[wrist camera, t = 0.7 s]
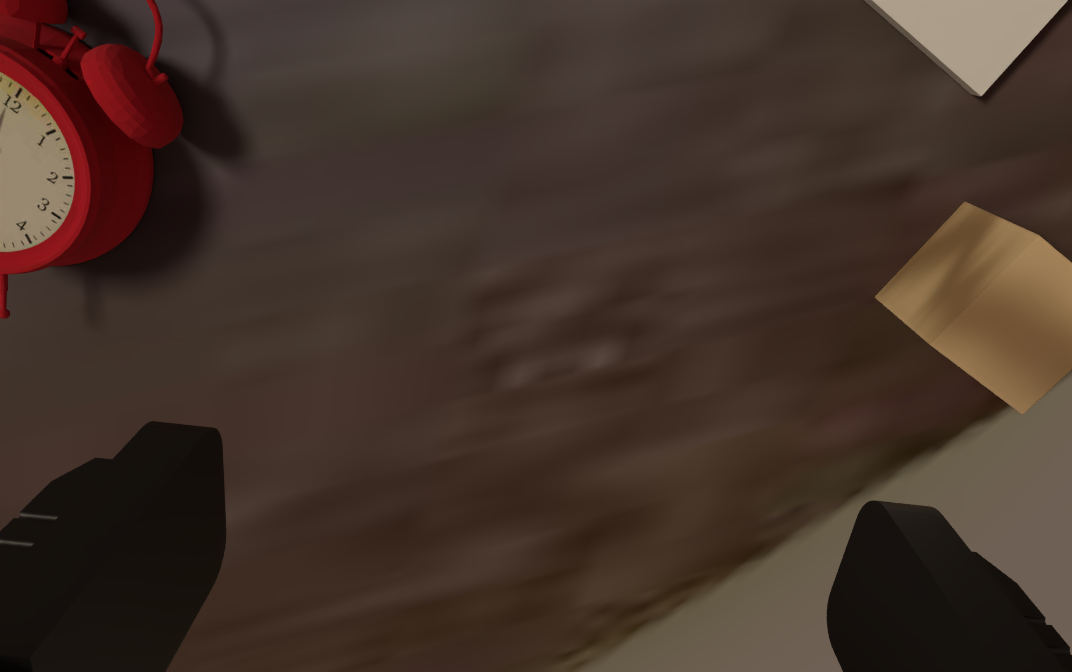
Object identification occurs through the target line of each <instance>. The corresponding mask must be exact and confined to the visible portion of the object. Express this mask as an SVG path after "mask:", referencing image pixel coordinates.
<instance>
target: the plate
mask: <svg viewBox="0 0 1072 672" xmlns="http://www.w3.org/2000/svg"><path fill="white" fill-rule="evenodd" d="M864 1H865V2H866V3H868V4H869V5H870V6H871V7H872V8H873V9H874V10H875V11H877V12H878V13H879V14H880V15H881V16H882V17H883V18H885V19H886V20H887V21H888V22H889V23H890V24H891V25H893V26H894V27H895V28H896V29H897V30H898V31H899V32H901V33H902V34H903V35H904V36H905V37H906V38H907V39H908V40H910V41H911V42H912V43H913V44H914V45H915V46H916V47H918V48H919V49H920V50H921V51H922V52H923V53H924V54H926V55H927V56H928V57H929V58H930V59H931V60H932V61H934V62H935V63H936V64H937V65H938V66H939V67H940V68H942V69H943V70H944V71H945V72H946V73H947V74H948V75H949V76H951V77H952V78H953V79H954V80H955V81H956V82H957V83H959V84H960V85H961V86H962V87H963V88H964V89H965V90H967V91H968V92H969V93H970V94H972V95H976V96H982V95H983V94H984V93H985V92H986V91H987V89H988V88H989V87H990V86H991V85H992V84H993V83H994V82H995V81H996V79H997V78H998V77H999V76H1000V75H1001V74H1002V73H1003V72H1004V71H1005V69H1006V68H1007V67H1008V66H1009V65H1010V64H1011V63H1012V62H1013V61H1014V60H1015V58H1016V57H1017V56H1018V55H1019V54H1020V53H1021V52H1022V51H1023V50H1024V48H1025V47H1026V46H1027V45H1028V44H1029V43H1030V42H1031V41H1032V40H1033V38H1034V37H1035V36H1036V35H1037V34H1038V33H1039V32H1040V31H1041V30H1042V28H1043V27H1044V26H1045V25H1046V24H1047V23H1048V22H1049V21H1050V20H1051V18H1052V17H1053V16H1054V15H1055V14H1056V13H1057V12H1058V11H1059V10H1060V8H1061V7H1062V6H1063V5H1064V4H1065V3H1066V2H1067V1H1068V0H864Z"/></svg>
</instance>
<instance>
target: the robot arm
mask: <svg viewBox="0 0 1072 672" xmlns="http://www.w3.org/2000/svg"><path fill="white" fill-rule="evenodd" d="M225 544H226V513H225V490H224V467H223V446H222V439H221V435H220V433H219V431H218V430H217V429H216V428H211V427H202V426H192V425H183V424H174V423H165V422H155V421H152V422H149V423H147V424H145V425H144V426H143V427H142V428H141V429H140V430H139V431H138V433H137V434H136V435H135V436H134V437H133V438H132V439H131V440H130V441H129V442H128V443H127V444H126V445H125V446H124V447H123V449H122V450H121V451H120V452H119V453H118V454H117V455H116V456H115V457H114V458H113V459H103V458H94V459H92V460H90V461H89V462H87V463H85V464H83V465H81V466H79V467H77V468H75V469H74V470H72V471H70V472H68V473H66V474H64V475H62V476H60V477H59V478H57V479H55V480H53V481H51V482H50V483H49V484H48V485H47V486H46V487H45V488H44V489H43V490H42V491H41V492H40V493H39V494H38V495H37V496H36V497H35V498H34V499H33V500H32V501H31V502H30V503H29V504H28V505H27V506H26V507H25V508H24V509H23V510H22V511H21V512H20V516H19V518H13V519H12V520H11V521H10V522H9V523H8V524H7V525H6V526H5V527H4V528H3V529H2V530H1V531H0V672H166V670H167V668H168V666H169V664H170V663H171V661H172V659H173V657H174V655H175V654H176V652H177V650H178V648H179V647H180V645H181V643H182V641H183V639H184V638H185V636H186V634H187V632H188V630H189V629H190V627H191V625H192V623H193V621H194V620H195V618H196V616H197V614H198V612H199V611H200V609H201V607H202V605H203V603H204V602H205V600H206V598H207V596H208V595H209V593H210V591H211V589H212V587H213V585H214V583H215V581H216V579H217V576H218V574H219V571H220V568H221V564H222V560H223V556H224V551H225ZM827 627H828V634H829V639H830V642H831V645H832V648H833V650H834V653H835V655H836V657H837V659H838V661H839V664H840V666H841V668H842V670H843V672H1072V655H1071V654H1070V647H1069V646H1068V645H1067V643H1066V642H1065V641H1064V640H1063V639H1062V637H1061V636H1060V635H1059V634H1058V633H1057V631H1056V630H1055V629H1054V628H1053V626H1052V625H1046V623H1045V617H1044V616H1043V614H1042V613H1041V612H1040V611H1039V610H1038V608H1037V607H1036V606H1035V605H1034V604H1033V602H1032V601H1031V600H1030V599H1029V598H1028V596H1027V595H1026V594H1025V593H1024V591H1023V590H1022V589H1021V588H1020V587H1019V585H1018V584H1017V583H1016V582H1014V581H1013V580H1012V579H1011V578H1009V577H1008V576H1007V575H1005V574H1004V573H1003V572H1001V571H1000V570H999V569H997V568H996V567H995V566H993V565H992V564H991V563H990V562H988V561H987V560H986V559H984V558H983V557H982V556H980V555H979V554H978V553H977V552H971V550H970V549H969V548H968V547H967V546H966V544H965V543H964V542H963V540H962V539H961V538H960V537H959V535H958V534H957V533H956V531H955V530H954V529H953V528H952V526H951V525H950V524H949V523H948V521H947V520H946V519H945V518H944V516H943V515H942V514H941V513H940V512H939V511H938V510H937V509H935V508H933V507H928V506H919V505H910V504H901V503H891V502H882V501H869V502H867V503H866V504H865V505H864V506H863V507H862V508H861V510H860V512H859V514H858V516H857V519H856V521H855V525H854V527H853V530H852V533H851V536H850V539H849V541H848V544H847V547H846V550H845V552H844V555H843V559H842V561H841V564H840V567H839V569H838V572H837V575H836V578H835V581H834V584H833V586H832V589H831V592H830V595H829V599H828V606H827Z"/></svg>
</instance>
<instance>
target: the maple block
mask: <svg viewBox="0 0 1072 672" xmlns="http://www.w3.org/2000/svg"><path fill="white" fill-rule="evenodd" d="M875 298H876V299H877V300H878V301H880V302H881V303H882V304H883V305H884V306H885V307H887V308H888V309H889V310H890V311H891V312H892V313H894V314H895V315H896V316H897V317H898V318H899V319H901V320H902V321H903V322H904V323H905V324H906V325H908V326H909V327H910V328H911V329H912V330H913V331H915V332H916V333H917V334H918V335H919V336H920V337H922V338H923V339H924V340H925V341H926V342H927V343H929V344H930V345H931V346H932V347H934V348H935V349H936V350H938V351H939V352H940V353H942V354H943V355H944V356H946V357H947V358H948V359H949V360H951V361H952V362H953V363H955V364H956V365H957V366H959V367H960V368H961V369H963V370H964V371H965V372H967V373H968V374H969V375H971V376H972V377H973V378H975V379H976V380H977V381H979V382H980V383H981V384H982V385H984V386H985V387H986V388H988V389H989V390H990V391H992V392H993V393H994V394H996V395H997V396H998V397H1000V398H1001V399H1002V400H1004V401H1005V402H1006V403H1008V404H1009V405H1010V406H1012V407H1013V408H1014V409H1016V410H1017V411H1018V412H1019V413H1021V414H1022V415H1023V414H1024V413H1025V412H1026V411H1027V410H1028V409H1029V408H1030V407H1032V406H1033V405H1034V404H1035V403H1036V402H1037V401H1038V400H1039V399H1040V398H1041V397H1042V396H1044V395H1045V394H1046V393H1047V392H1048V391H1049V390H1050V389H1051V388H1052V387H1053V386H1055V385H1056V384H1057V383H1058V382H1059V381H1060V380H1061V379H1062V378H1063V377H1064V376H1065V375H1067V374H1068V373H1069V372H1070V371H1071V370H1072V263H1071V262H1070V261H1069V260H1068V259H1066V258H1065V257H1064V256H1063V255H1062V254H1061V253H1059V252H1058V251H1057V250H1056V249H1055V248H1053V247H1052V246H1051V245H1050V244H1049V243H1047V242H1046V241H1045V240H1044V239H1043V238H1042V237H1040V236H1039V235H1037V234H1035V233H1033V232H1031V231H1028V230H1026V229H1024V228H1022V227H1020V226H1017V225H1015V224H1013V223H1011V222H1009V221H1006V220H1004V219H1002V218H1000V217H998V216H995V215H993V214H991V213H989V212H987V211H984V210H982V209H980V208H978V207H976V206H973V205H971V204H969V203H967V202H964V203H963V204H962V205H961V206H960V207H959V208H958V209H957V210H956V211H955V213H954V214H953V215H952V216H951V217H950V218H949V219H948V220H947V221H946V222H945V223H944V224H943V225H942V226H941V227H940V228H939V230H938V231H937V232H936V233H935V234H934V235H933V236H932V237H931V238H930V239H929V240H928V241H927V242H926V243H925V244H924V245H923V246H922V248H921V249H920V250H919V251H918V252H917V253H916V254H915V255H914V256H913V257H912V258H911V259H910V260H909V261H908V262H907V263H906V265H905V266H904V267H903V268H902V269H901V270H900V271H899V272H898V273H897V274H896V275H895V276H894V277H893V278H892V279H891V280H890V282H889V283H888V284H887V285H886V286H885V287H884V288H883V289H882V290H881V291H880V292H879V293H878V294H877V295H876V296H875Z"/></svg>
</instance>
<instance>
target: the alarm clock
mask: <svg viewBox="0 0 1072 672" xmlns="http://www.w3.org/2000/svg"><path fill="white" fill-rule="evenodd" d="M147 2H148V5H149V7H150V9H151V11H152V13H153V17H154V21H155V38H154V43H153V47H152V51H151V54H150V57H149V60H147V59H146V58H145V57H144V56H143V55H141V54H140V53H139V52H137V51H135V50H133V49H131V48H129V47H127V46H124V45H121V44H104V45H101V46H98V47H95V48H93V49H89V48H88V47H87V46H85V45H84V44H82V43H81V42H79V41H78V39H79V38H80V39H81V40H84V39H85V38H86V36H87V34H86V33H85V32H84V31H83V30H81V29H80V28H79V27H77V26H76V25H75V26H73V27H72V28H71V32H72V33H73V34H74V35H73V37H72V36H70V35H69V34H67V33H66V32H64V31H62V30H59V29H57V28H55V27H53V26H50V25H48V24H61V23H65V22H66V20H67V14H68V5H67V1H66V0H0V307H1V310H0V318H2V319H5V318H8V317H9V316H10V311H9V310H7V309H6V302H7V291H8V274H21V273H28V272H33V271H38V270H41V269H44V268H47V267H49V266H64V265H72V264H77V263H81V262H85V261H88V260H91V259H94V258H96V257H98V256H101V255H102V254H104V253H106V252H108V251H110V250H111V249H113V248H114V247H116V246H117V245H119V244H120V243H121V242H122V241H123V240H125V239H126V238H127V237H128V236H129V235H130V234H131V232H132V231H133V230H134V229H135V228H136V226H137V225H138V223H139V222H140V220H141V218H142V216H143V214H144V212H145V210H146V208H147V205H148V202H149V199H150V195H151V192H152V185H153V173H154V163H153V154H152V148H157V149H160V148H161V147H163V146H165V145H167V144H169V143H170V142H172V141H173V140H174V139H175V138H176V137H177V136H178V135H179V134H180V132H181V129H182V126H183V114H182V109H181V106H180V104H179V101H178V99H177V96H176V94H175V93H174V91H173V89H172V88H171V86H170V85H169V83H168V81H167V80H168V76H167V74H165V73H162V74H161V73H160V72H159V70H158V69H157V68H156V67H155V66H154V63H155V61H156V59H157V57H158V54H159V50H160V46H161V43H162V34H163V25H162V19H161V16H160V13H159V10H158V7H157V4H156V3H155V1H154V0H147ZM45 23H48V24H45Z"/></svg>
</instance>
